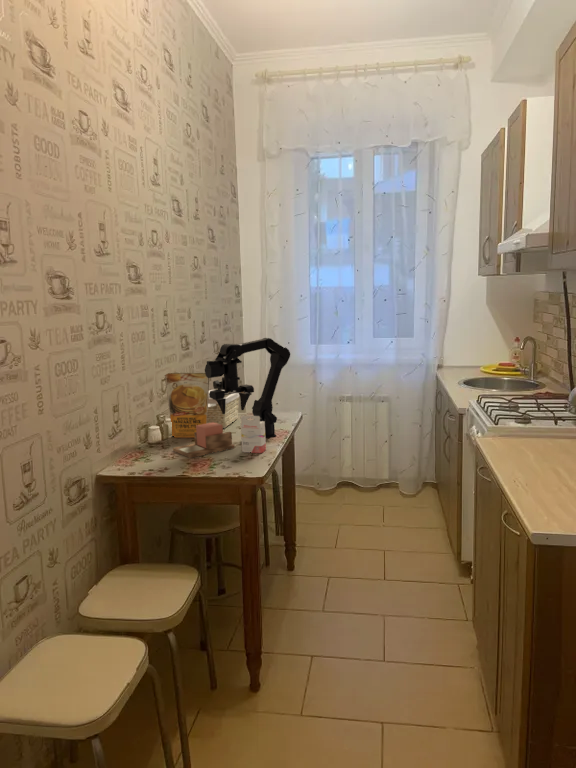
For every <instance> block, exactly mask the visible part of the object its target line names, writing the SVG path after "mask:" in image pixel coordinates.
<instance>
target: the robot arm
mask: <svg viewBox="0 0 576 768" xmlns="http://www.w3.org/2000/svg"><path fill="white" fill-rule="evenodd" d="M259 350H265V351H266V352H267V353H268V354H269V355H270V357H269V359H270V360H269V362H270V368H269V370H268V373H267V377H266V379H265V383H264V386H263V389H262V392H261V396H260V398H259V399H254V401H253V405H252V407H251V409H252V412H251V413H252V416H259V417H260V421H265V438H271V437H276V436H277V434H276V432H275V431H276V429H275V423H277V419H278V417H277V416H276V415H275V414H273V408H274V407H273V398H274V395H275V391H276V388H277V386H278V382H279V379H280V375H281V373H282V370H283V368H284V367H285V366H286V365H287V364H288V361H289V360H290V358H291V351H290V350H289V349H288V348H287V347H283V346H282V345H281V344H279V343H278V342H276V341H274V340H273V339H272V338H269V337H264V338H260V339H256V340H252V341H247V342H242V343H223V344H222V345H221V347H220V349H219V352H218V354H217V356H216V358H215V360H206V365H205V367H204V373H205V374H206V376H207V378H209V379H213V378H218V377H221V381H219V379H218V380H214V381H212V386H213V389H212V390H213V391H210V393H209V398H212V399H213V400H216V401H217V403H218V404H219V406H220V409H221V411H222V413H223V414H225V402H226V399H225V398H226V396H225V395H229V394H234V393H239V402H240V410H241V411H244V410H245V407H246V404H247V402H248V400H249V398H250V396H252V393H254V392H255V388H254V386H253V385H252V384H251V385H250V384H240V385H239V381H240V379H241V377H240V376H239V374H238V372H239V371H238V364H242V363H243V362H242V360H241V359H239V357H241V356H242V355H244V354H247V353H250V352H256V351H259ZM222 390H225V391H222Z"/></svg>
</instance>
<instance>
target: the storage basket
mask: <svg viewBox="0 0 576 768" xmlns="http://www.w3.org/2000/svg"><path fill="white" fill-rule="evenodd" d="M213 390H214V389H209V393H210V391H213ZM222 391H225V390H222ZM239 393H240V392H239ZM239 393H234V394H229V395H225V396H224V398H225V399H226V402H225V414H223V413H222V411H221V409H220V406H219V404H218V403H217V401H216V400H213V399H212V398H209V399H208V411H207V423H212V422H214V423H217V424H221V425H222V427H223V429H226V428H227V427H228V426H229V425H231V424H233V423H234V422H235V421H236V420H237V419H238V418H239V402H240V395H239ZM232 422H233V423H232Z"/></svg>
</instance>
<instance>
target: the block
mask: <svg viewBox="0 0 576 768" xmlns="http://www.w3.org/2000/svg"><path fill="white" fill-rule="evenodd" d="M223 429H224V428H223V427H222V425H221V424H217V423H214V422H212V423H207V424H202V425H196V432H197V445H199V446H202V447H204V448H206V436H211V435H216V434H221V433H224V431H223Z"/></svg>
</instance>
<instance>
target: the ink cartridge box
mask: <svg viewBox="0 0 576 768" xmlns="http://www.w3.org/2000/svg"><path fill="white" fill-rule="evenodd" d="M249 419H251V420H249ZM240 433H241V434H240V435H241V436H240V437H241V451H242V453H250V452H251V453H252V454H262V453H264V452H266V451H267V443H266V442H267V440H266V438H267V437H266V438H265V421H260V417H259V416H254V415H243V414H242V415H241V416H240Z"/></svg>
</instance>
